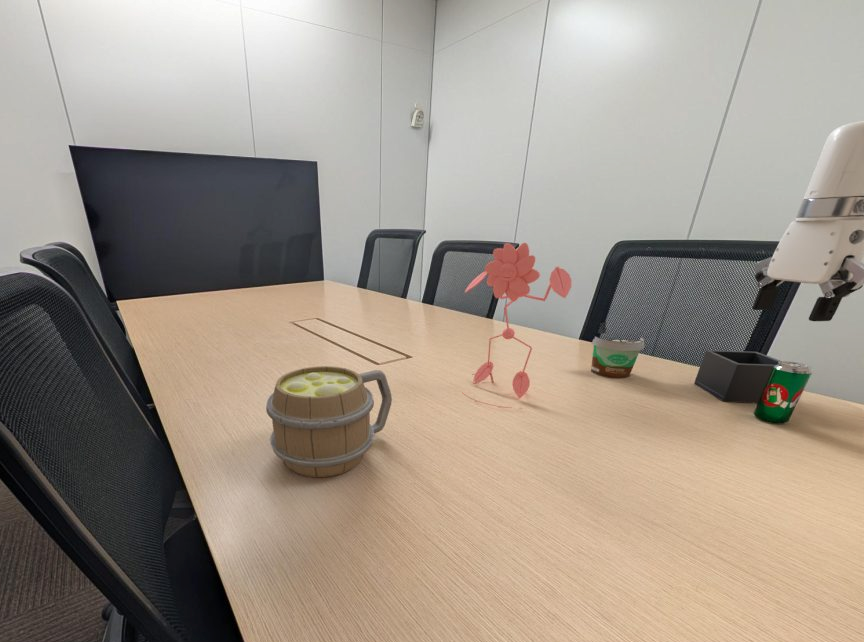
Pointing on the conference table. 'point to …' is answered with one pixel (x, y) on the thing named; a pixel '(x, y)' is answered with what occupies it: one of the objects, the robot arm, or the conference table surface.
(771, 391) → the soda can
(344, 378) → the mug
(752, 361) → the trash bin
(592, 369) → the food container
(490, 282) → the figurine
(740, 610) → the conference table surface
